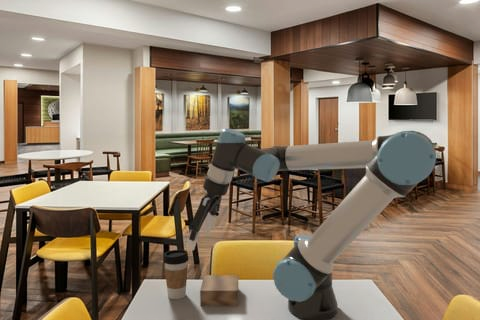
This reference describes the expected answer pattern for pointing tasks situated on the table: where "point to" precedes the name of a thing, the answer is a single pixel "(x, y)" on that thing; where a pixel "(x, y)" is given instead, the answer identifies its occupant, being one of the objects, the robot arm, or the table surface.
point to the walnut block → (219, 290)
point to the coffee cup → (176, 272)
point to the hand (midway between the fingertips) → (198, 239)
